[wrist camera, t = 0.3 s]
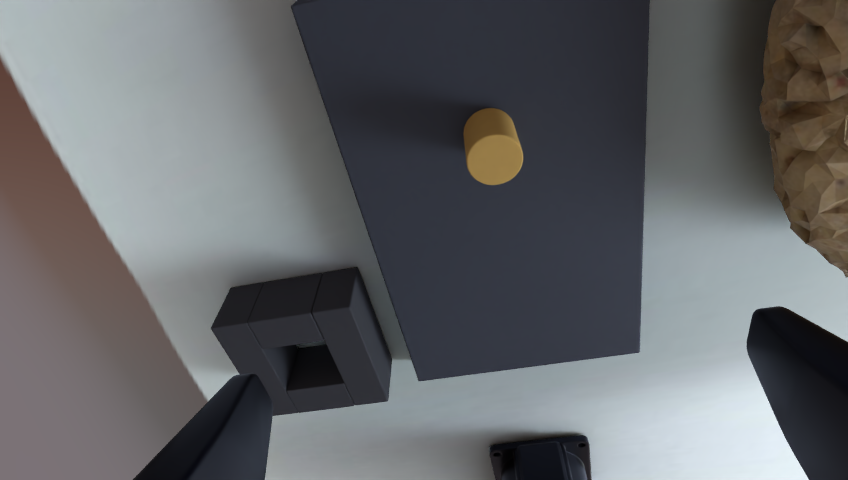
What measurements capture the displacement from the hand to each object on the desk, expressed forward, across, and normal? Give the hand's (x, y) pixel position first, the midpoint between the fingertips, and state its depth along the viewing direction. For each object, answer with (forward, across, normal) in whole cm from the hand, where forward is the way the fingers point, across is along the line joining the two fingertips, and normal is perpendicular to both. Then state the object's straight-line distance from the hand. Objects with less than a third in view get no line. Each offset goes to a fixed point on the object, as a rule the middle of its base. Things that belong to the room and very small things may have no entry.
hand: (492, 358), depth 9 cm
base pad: (+14, -1, +5) cm, 15 cm away
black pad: (+14, +10, +11) cm, 21 cm away
